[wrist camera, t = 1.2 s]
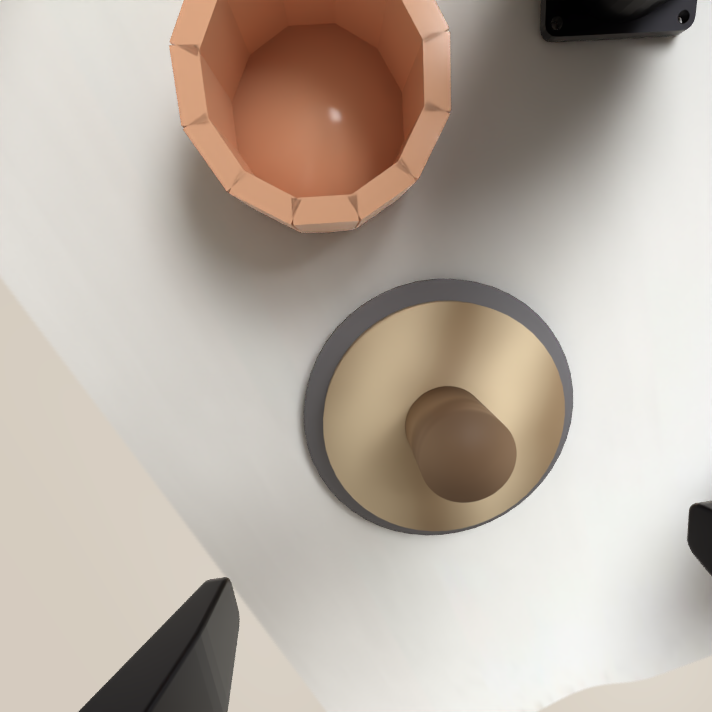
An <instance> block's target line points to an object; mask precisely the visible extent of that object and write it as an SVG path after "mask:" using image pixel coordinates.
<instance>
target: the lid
mask: <svg viewBox="0 0 712 712" xmlns="http://www.w3.org/2000/svg"><path fill="white" fill-rule="evenodd" d="M564 418H565V399H564V392H563V386H562V382H561V379H560V376H559V372H558V370H557V368H556V365H555V363H554V361H553V359H552V357H551V356H550V354H549V353H548V351H547V350H546V348H545V347H544V345H543V344H542V343H541V342H540V341H539V339H538V338H537V337H536V336H535V335H534V334H533V333H532V332H531V331H529V330H528V329H527V328H526V327H525V326H523V325H522V324H521V323H519V322H518V321H516V320H514V319H513V318H511V317H509V316H508V315H505V314H503V313H501V312H498V311H496V310H494V309H491V308H488V307H484V306H481V305H477V304H473V303H469V302H461V301H432V302H425V303H420V304H416V305H413V306H409V307H406V308H403V309H401V310H398V311H396V312H394V313H391V314H390V315H388V316H386V317H384V318H383V319H381V320H379V321H377V322H376V323H375V324H373V325H372V326H371V327H370V328H368V329H367V330H366V331H364V332H363V333H362V334H361V335H360V336H359V337H358V338H357V339H356V340H355V341H354V342H353V343H352V345H351V346H350V347H349V348H348V350H347V351H346V352H345V354H344V355H343V356H342V358H341V360H340V362H339V363H338V365H337V367H336V368H335V371H334V373H333V376H332V378H331V380H330V383H329V386H328V390H327V394H326V398H325V406H324V416H323V433H324V441H325V447H326V451H327V455H328V458H329V461H330V464H331V466H332V468H333V470H334V472H335V474H336V476H337V478H338V480H339V481H340V483H341V484H342V486H343V487H344V489H345V490H346V491H347V492H348V493H349V494H350V495H351V496H352V498H353V499H354V500H355V501H357V502H358V503H359V504H360V505H361V506H362V507H364V508H365V509H366V510H368V511H369V512H371V513H372V514H374V515H376V516H377V517H379V518H381V519H383V520H385V521H388V522H390V523H393V524H396V525H399V526H402V527H405V528H410V529H415V530H423V531H449V530H455V529H462V528H466V527H469V526H473V525H477V524H479V523H482V522H484V521H487V520H489V519H492V518H493V517H495V516H497V515H499V514H501V513H503V512H504V511H506V510H507V509H509V508H510V507H512V506H513V505H515V504H516V503H517V502H519V501H520V500H521V499H522V498H523V497H524V496H526V495H527V494H528V493H529V492H530V491H531V489H532V488H533V487H534V486H535V485H536V484H537V483H538V482H539V480H540V479H541V477H542V476H543V475H544V473H545V472H546V470H547V469H548V467H549V465H550V463H551V462H552V460H553V458H554V456H555V453H556V451H557V448H558V446H559V443H560V439H561V435H562V431H563V426H564Z"/></svg>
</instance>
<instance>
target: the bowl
mask: <svg viewBox="0 0 712 712" xmlns="http://www.w3.org/2000/svg"><path fill="white" fill-rule="evenodd" d="M448 30H449V26H448V24H447V22H446V20H445V18H444V16H443V15H442V13H441V11H440V9H439V7H438V5H437V3H436V1H435V0H184V1H183V4H182V7H181V10H180V13H179V16H178V19H177V22H176V25H175V27H174V30H173V33H172V36H171V39H170V43H171V44H172V45H170V46H169V47H170V54H171V60H172V67H173V73H174V80H175V86H176V93H177V99H178V106H179V113H180V119H181V126H182V127H183V128H184V129H183V130H184V131H185V133H186V134H187V136H188V137H189V139H190V140H191V141H192V143H193V144H194V146H195V147H196V149H197V150H198V151H199V153H200V154H201V156H202V157H203V158H204V160H205V161H206V163H207V164H208V166H209V167H210V168H211V170H212V171H213V173H214V174H215V176H216V177H217V178H218V180H219V181H220V183H221V184H222V186H223V187H224V188H225V190H226V191H227V192H228V193H229V194H231V195H232V196H234V197H235V198H237V199H239V200H240V201H242V202H243V203H245V204H246V205H248V206H250V207H251V208H253V209H255V210H257V211H258V212H260V213H262V214H264V215H266V216H268V217H270V218H272V219H274V220H276V221H278V222H279V223H282V224H284V225H286V226H288V227H290V228H292V229H294V230H296V231H298V232H300V233H301V232H302V233H330V232H337V231H346V230H354V228H355V229H357V228H358V227H359V226H361V225H362V224H364V223H365V222H367V221H368V220H370V219H371V218H373V217H375V216H376V215H377V214H379V213H380V212H381V211H382V210H384V209H385V208H387V207H388V206H390V205H391V204H392V203H394V202H395V201H397V200H398V199H399V198H400V197H401V196H402V195H403V194H404V193H405V192H406V191H407V190H408V189H409V188H410V187H411V186H412V185H413V184H414V183H415V182H416V181H417V180H418V179H419V177H420V175H421V173H422V171H423V169H424V167H425V165H426V163H427V160H428V158H429V156H430V154H431V152H432V150H433V148H434V146H435V144H436V142H437V140H438V138H439V136H440V134H441V132H442V130H443V128H444V126H445V124H446V122H447V120H448V118H449V115H450V114H449V113H450V111H451V58H450V32H448Z"/></svg>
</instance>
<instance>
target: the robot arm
mask: <svg viewBox="0 0 712 712" xmlns="http://www.w3.org/2000/svg"><path fill="white" fill-rule="evenodd" d="M696 5H697V0H541V27H540V30H541V35H542V37H543V38H544V39H545V40H546V41H549V42H559V41H578V40H598V39H617V38H636V37H656V36H675V35H678V34H680V33H682V32H683V31H685V30H686V29H688V28H689V27H690V26H691V25H692V23H693V22H694V19H695V14H696ZM678 16H680V17H681V19H682V23H680V22H679V21H678ZM551 22H555V23H556V24H557V27H558V29H557V30H554V29H553V28H552V27H551ZM687 541H688V545H689V547H690V549H691V551H692V553H693V554H694V555H695V557H696V558H697V559H698V560H699V561H700V563H701V564H702V565H703V566H704V567H705V569H706V570H707V571H708V572H709V573H710V575H711V576H712V501H706V502H700V503H695V504H693V505H692V506H691V507H690V509H689V519H688V534H687ZM238 631H239V611H238V607H237V603H236V599H235V595H234V591H233V587H232V583H231V581H230V579H229V578H227V577H223V578H217V579H210V580H207V581H206V582H205V583H203V585H201V587H200V588H199V589H198V590H197V591H196V592H195V593H194V594H193V595H192V596H191V597H190V598H189V599H188V600H187V601H186V602H185V603H184V604H183V605H182V606H181V607H180V608H179V609H178V610H177V611H176V612H175V613H174V614H173V615H172V616H171V617H170V618H169V619H168V620H167V621H166V622H165V624H164V625H162V627H161V628H160V629H159V630H158V631H157V632H156V633H155V634H154V635H153V636H152V637H151V638H150V639H149V640H148V641H147V642H146V643H145V644H144V645H143V646H142V647H141V648H140V649H139V650H138V651H137V652H136V653H135V654H134V655H133V656H132V657H131V658H130V659H129V660H128V662H126V663H125V664H124V666H123V667H122V668H121V669H120V670H119V671H118V672H117V673H116V674H115V675H114V676H113V677H112V678H111V679H110V680H109V681H108V682H107V683H106V684H105V685H104V686H103V687H102V688H101V689H100V690H99V691H98V692H97V693H96V694H95V695H94V696H93V697H92V698H91V699H90V701H88V702H87V703H86V704H85V706H84V707H83V708H82V709H81V710H80V711H79V712H227V711H228V704H229V696H230V689H231V682H232V675H233V667H234V660H235V652H236V645H237V638H238Z"/></svg>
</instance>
